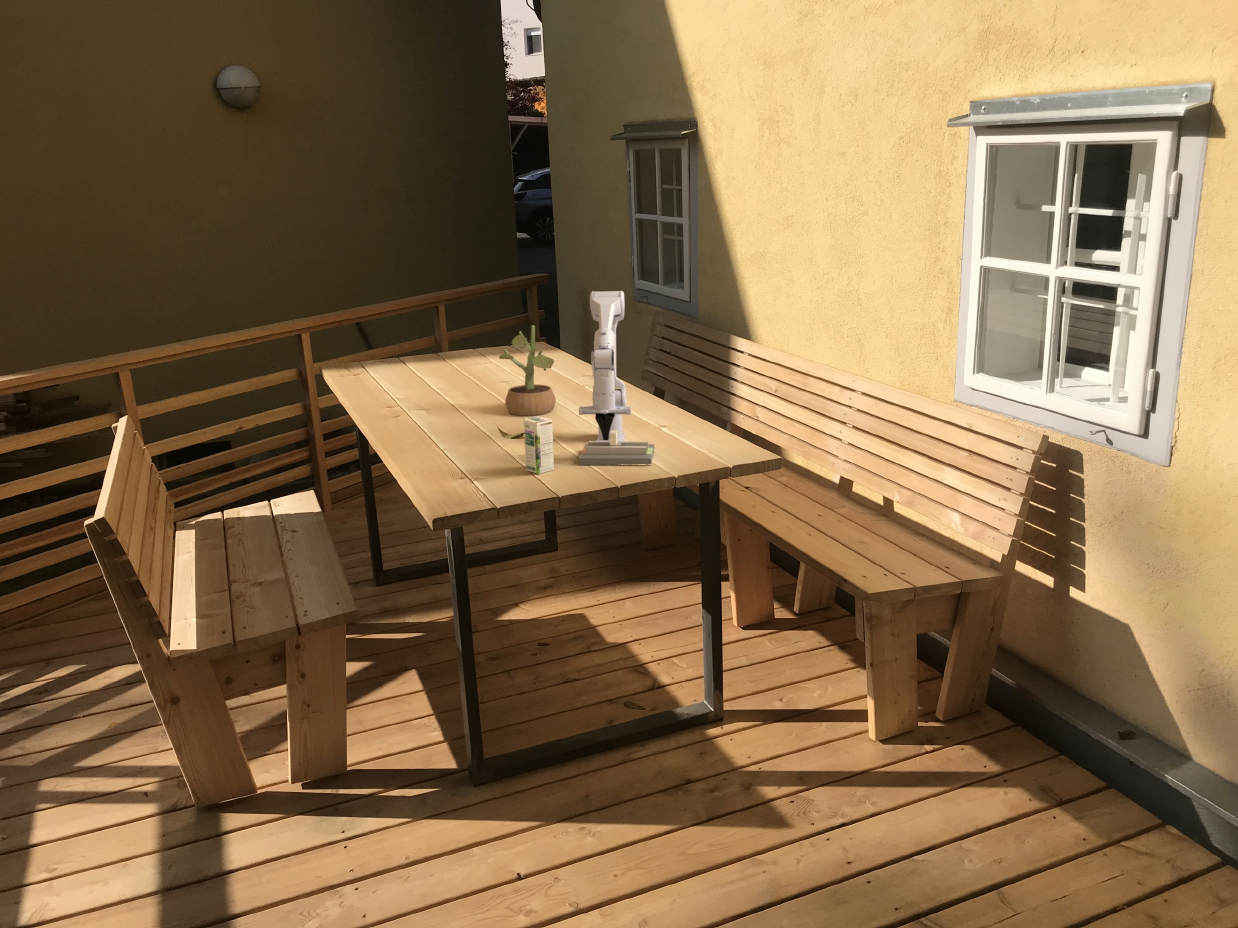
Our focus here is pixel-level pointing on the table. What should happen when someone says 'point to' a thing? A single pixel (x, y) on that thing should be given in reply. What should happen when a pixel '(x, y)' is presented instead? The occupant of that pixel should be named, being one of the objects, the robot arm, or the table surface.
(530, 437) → the syrup box
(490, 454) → the table surface
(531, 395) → the potted plant
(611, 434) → the breaker handle
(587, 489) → the table surface
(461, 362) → the table surface
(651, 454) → the breaker panel
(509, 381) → the table surface
